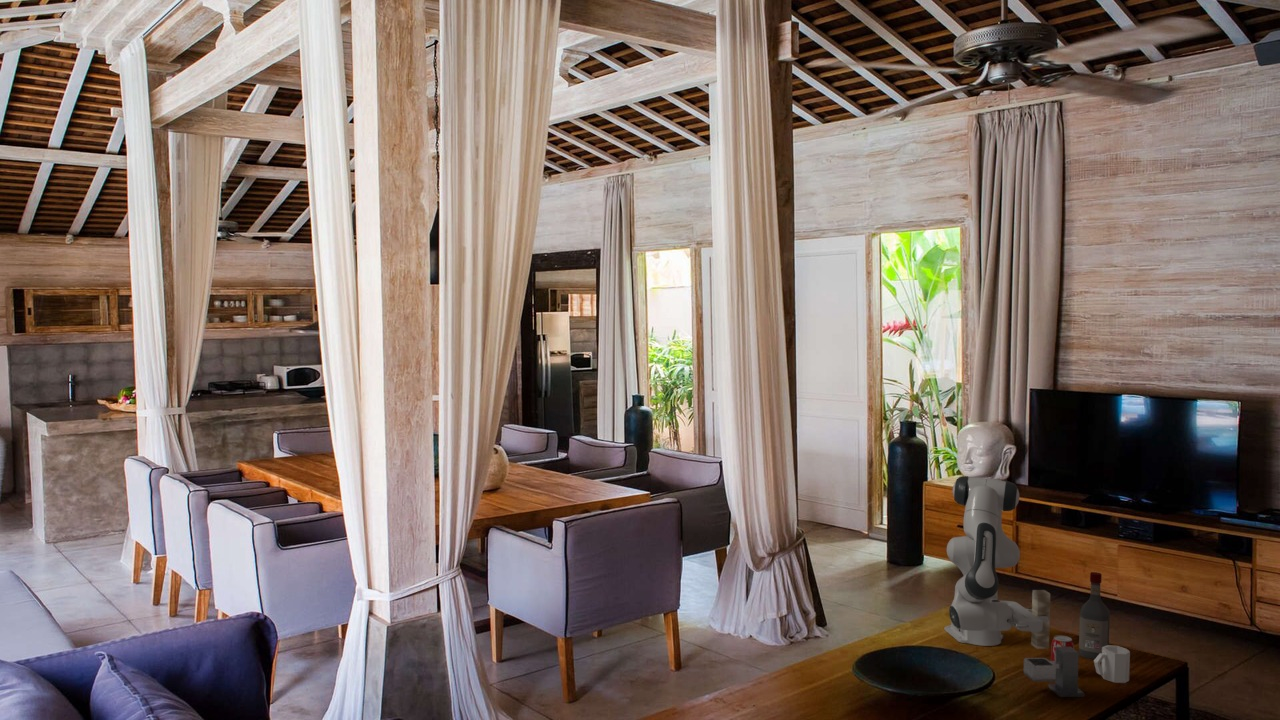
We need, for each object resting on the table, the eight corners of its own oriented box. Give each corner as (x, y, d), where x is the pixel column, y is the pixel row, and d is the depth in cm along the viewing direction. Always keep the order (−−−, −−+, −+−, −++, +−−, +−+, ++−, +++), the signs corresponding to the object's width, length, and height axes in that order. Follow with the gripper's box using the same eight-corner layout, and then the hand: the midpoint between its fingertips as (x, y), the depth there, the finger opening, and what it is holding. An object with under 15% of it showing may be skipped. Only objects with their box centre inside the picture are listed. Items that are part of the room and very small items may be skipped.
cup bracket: (1033, 697, 303) (1034, 654, 302) (1022, 687, 311) (1023, 645, 310) (1084, 696, 304) (1085, 654, 303) (1072, 686, 312) (1073, 645, 311)
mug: (1116, 672, 324) (1117, 644, 324) (1135, 682, 316) (1135, 653, 315) (1086, 675, 321) (1087, 647, 321) (1104, 685, 313) (1105, 656, 312)
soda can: (1075, 677, 320) (1076, 642, 319) (1053, 675, 321) (1054, 640, 321) (1070, 669, 327) (1071, 635, 326) (1048, 667, 328) (1049, 633, 327)
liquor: (1106, 662, 333) (1108, 578, 332) (1078, 657, 338) (1080, 574, 336) (1109, 654, 341) (1111, 572, 339) (1081, 649, 346) (1083, 568, 344)
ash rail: (1036, 648, 304) (1038, 593, 303) (1031, 644, 308) (1032, 590, 307) (1048, 648, 304) (1050, 593, 303) (1043, 644, 308) (1044, 589, 307)
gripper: (1015, 617, 295) (1059, 616, 295) (989, 597, 315) (1029, 597, 316) (1015, 637, 295) (1058, 636, 296) (988, 616, 316) (1029, 615, 316)
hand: (1043, 616), depth 306 cm, fingers closed on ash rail, 4 cm apart
